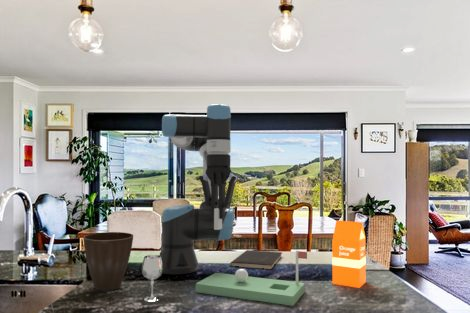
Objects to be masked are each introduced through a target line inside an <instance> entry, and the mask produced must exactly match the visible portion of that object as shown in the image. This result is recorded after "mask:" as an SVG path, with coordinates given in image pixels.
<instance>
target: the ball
mask: <svg viewBox="0 0 470 313" xmlns="http://www.w3.org/2000/svg"><path fill="white" fill-rule="evenodd" d="M234 275H235V278H236V280H237V281H238V282H245V281H246V280H247V278H248V276H249V273H248V271H247V270H246V269H244V268H238V269H237V270H236V271H235V273H234Z"/></svg>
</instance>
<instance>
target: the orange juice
mask: <svg viewBox="0 0 470 313" xmlns="http://www.w3.org/2000/svg"><path fill="white" fill-rule="evenodd" d="M365 233H366V232H365V229H364V225H363V222H362V221H349V220H336V221H335V226H334V230H333V237H332V240H331V241H332V246H331V247H332V251H331V252H332V257H331V258H332V259H331V260H332V261H331V262H332V263H331V264H332V265H331V266H332V267H331V268H332V285H340V286H345V287H351V288H358V289H360V288H361V287H362V286H363V285H364V284H366V283H367V281H366V280H367V275H366V271H367V270H366V268H367V267H366V266H367V265H366V264H367V261H366V260H367V256H366V253H367V251H366V234H365Z"/></svg>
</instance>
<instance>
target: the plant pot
mask: <svg viewBox="0 0 470 313" xmlns="http://www.w3.org/2000/svg"><path fill="white" fill-rule="evenodd" d="M133 241H134V234H133V233H130V232H122V231H121V232H119V231H117V232H116V231H107V232H97V233H89V234H86V235H84V236H83V245H84V254H85V259H86V263H87V267H88V272H89V275H90V278H91V280H92V284H93V287H94V288H95V290H97V291H100V292H101V291H102V292H103V291H104V292H106V291H107V292H108V291H115V290H117V289H119V288H120V287H121V285H122V283H123V279H124V278H125V275H126V272H127V271H126V270H127V267H128V264H129V261H130V257H131V252H132V247H133Z"/></svg>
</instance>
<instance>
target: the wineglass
mask: <svg viewBox="0 0 470 313" xmlns="http://www.w3.org/2000/svg"><path fill="white" fill-rule="evenodd" d="M159 255H160V254H150V255H145V256H144V257H143V260H142V264H141V273H142V276H143V277H144V278H146V279H148V280H150V287H151V289H150V292H151V294H150V296H147V297H145V298H144V299H143V301H144V302H146V303H147V302H148V303H154V302H158V301H160V299H161V298H160V296H155V295H154V285H155V281H154V280H157V279H158V278H160V277H161V276H162V275H163V273H162V270H163V265H162V259H161V256H159Z"/></svg>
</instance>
